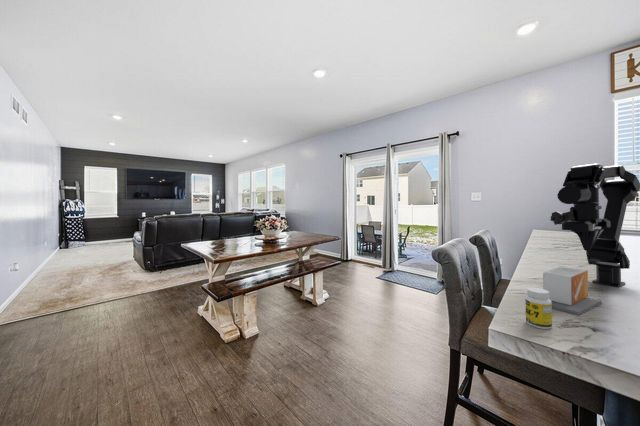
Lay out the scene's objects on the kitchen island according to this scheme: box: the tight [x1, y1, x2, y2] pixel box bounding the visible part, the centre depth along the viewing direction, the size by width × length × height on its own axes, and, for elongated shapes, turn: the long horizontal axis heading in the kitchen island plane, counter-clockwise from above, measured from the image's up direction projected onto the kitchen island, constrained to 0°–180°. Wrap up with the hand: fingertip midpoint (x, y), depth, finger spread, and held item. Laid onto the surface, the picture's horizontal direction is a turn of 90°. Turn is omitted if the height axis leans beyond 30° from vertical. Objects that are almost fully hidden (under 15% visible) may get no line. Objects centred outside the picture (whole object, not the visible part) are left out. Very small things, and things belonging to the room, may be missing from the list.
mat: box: [551, 297, 603, 316], centre depth 72 cm, size 15×11×1 cm
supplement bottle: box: [525, 287, 553, 330], centre depth 60 cm, size 5×5×8 cm
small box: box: [542, 266, 589, 306], centre depth 74 cm, size 8×6×13 cm
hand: (587, 250), depth 82 cm, fingers closed
